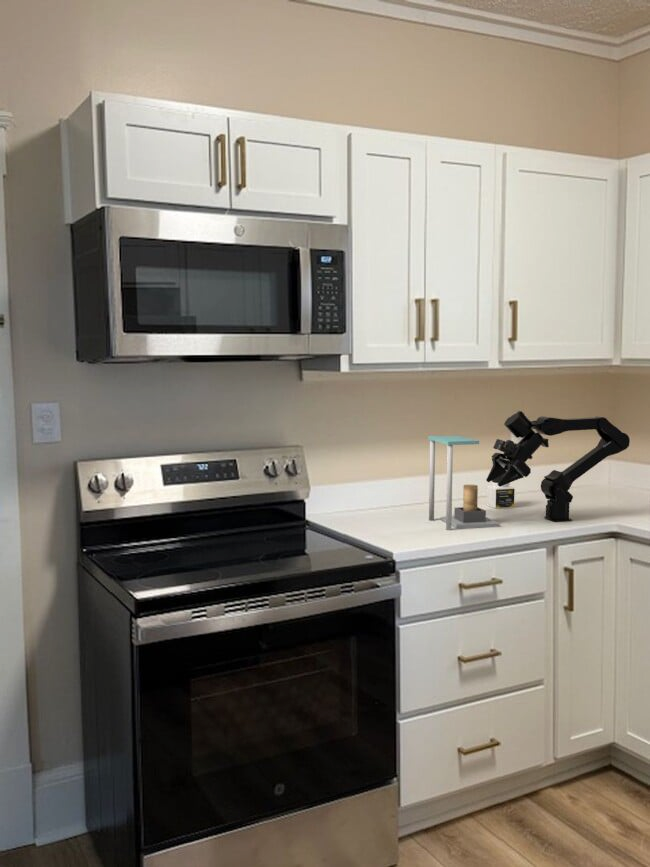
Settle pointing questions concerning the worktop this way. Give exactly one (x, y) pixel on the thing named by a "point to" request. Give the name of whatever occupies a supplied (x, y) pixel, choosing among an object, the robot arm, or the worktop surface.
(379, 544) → the worktop surface
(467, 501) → the tan domed cylinder
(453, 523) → the awning socket
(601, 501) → the worktop surface
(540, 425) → the robot arm
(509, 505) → the medicine bottle
